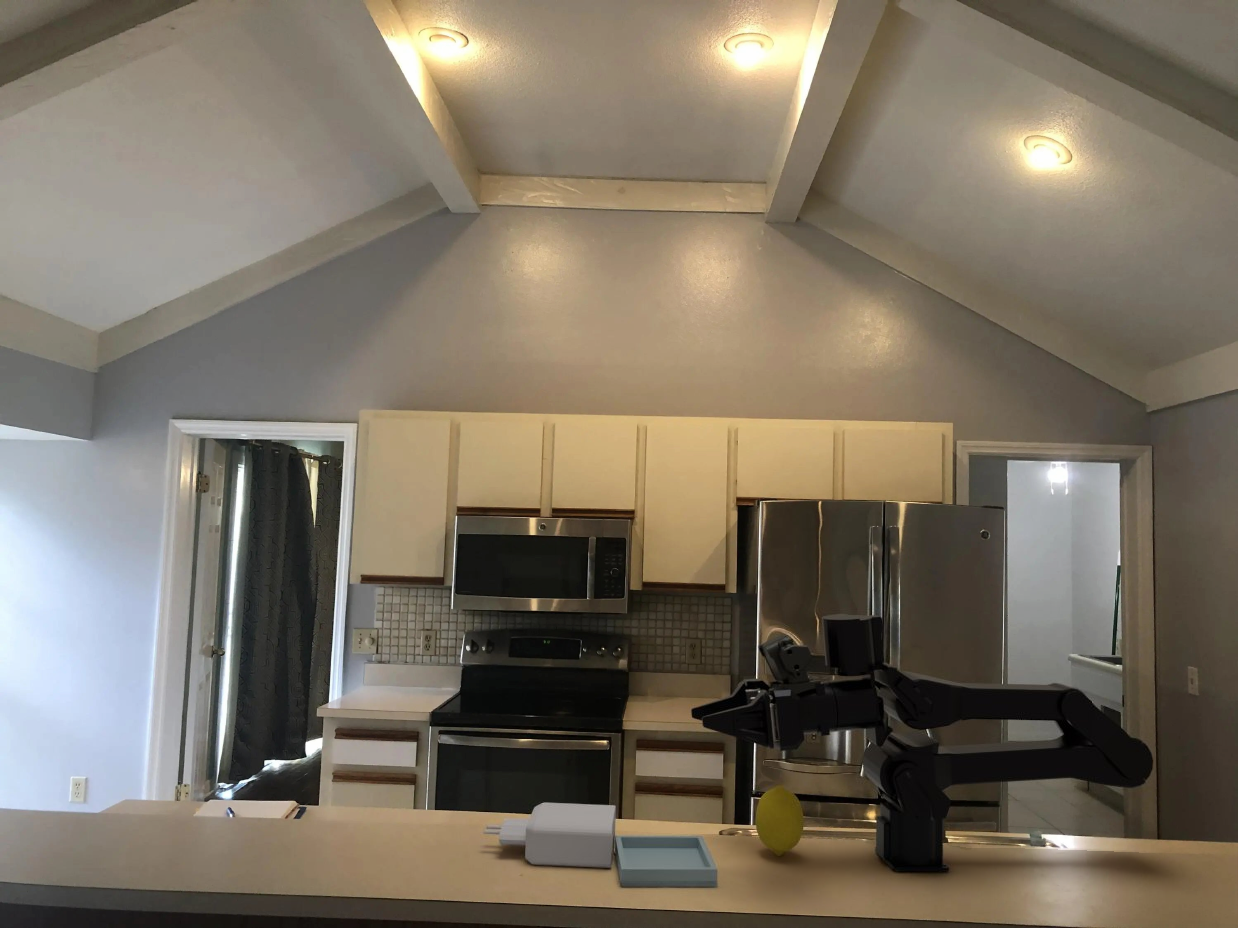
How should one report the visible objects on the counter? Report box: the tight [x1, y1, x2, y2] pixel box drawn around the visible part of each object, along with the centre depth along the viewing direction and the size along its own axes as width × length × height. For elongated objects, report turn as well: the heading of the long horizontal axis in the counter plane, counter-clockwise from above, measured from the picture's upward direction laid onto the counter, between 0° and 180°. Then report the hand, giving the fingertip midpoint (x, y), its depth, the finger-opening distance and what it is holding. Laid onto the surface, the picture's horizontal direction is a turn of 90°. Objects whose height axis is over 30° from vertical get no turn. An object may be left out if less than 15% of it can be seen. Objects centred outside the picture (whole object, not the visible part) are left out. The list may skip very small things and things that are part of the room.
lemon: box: [755, 784, 805, 856], centre depth 104 cm, size 6×6×8 cm
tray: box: [614, 834, 718, 888], centre depth 99 cm, size 10×10×2 cm
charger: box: [482, 802, 617, 869], centre depth 104 cm, size 5×9×15 cm
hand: (696, 717), depth 103 cm, fingers open, 9 cm apart
